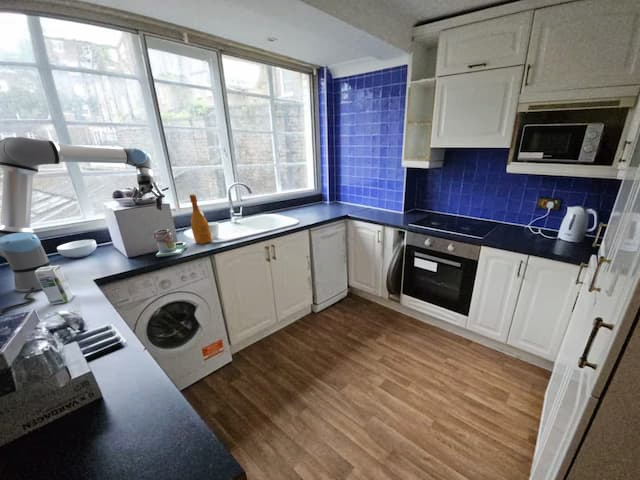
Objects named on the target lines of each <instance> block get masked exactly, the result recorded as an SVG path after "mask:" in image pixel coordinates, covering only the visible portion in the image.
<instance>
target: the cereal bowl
mask: <svg viewBox="0 0 640 480" xmlns="http://www.w3.org/2000/svg"><path fill="white" fill-rule="evenodd" d="M97 245H98V244H97V242H96V240H95V239H82V240H81V239H80V240H75V241H70V242H67V243H63V244H60V245H58V246H57V247H56V250H57V252H58V253H59V255H61V256H63V257H67V258H73V259H78V258H85V257H87V256H90V255H91V254H92V253H93V252H95V251H96V249H97V247H98V246H97Z"/></svg>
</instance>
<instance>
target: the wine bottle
mask: <svg viewBox="0 0 640 480" xmlns="http://www.w3.org/2000/svg"><path fill="white" fill-rule="evenodd" d="M189 200H190V203H191V207H192V214H191V219H190V228H191V231H192V234H193V238H194V241H195V243H196V244H199V245H203V244H208V243H210V242H212V240H213V239H212V233H211V228H210V225H209V223H208V222H209V221H208V220H207V218H206V217H205V213H204V212H203V210H201V209H200V207H199V206H198V199H197V196H196V194H190V195H189Z"/></svg>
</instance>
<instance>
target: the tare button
mask: <svg viewBox="0 0 640 480" xmlns="http://www.w3.org/2000/svg"><path fill="white" fill-rule="evenodd" d="M183 243H184V242H183V241H180V240H179V241H176V242H175V241H174V244H175V245H176V246H177V245H182V244H183Z"/></svg>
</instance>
